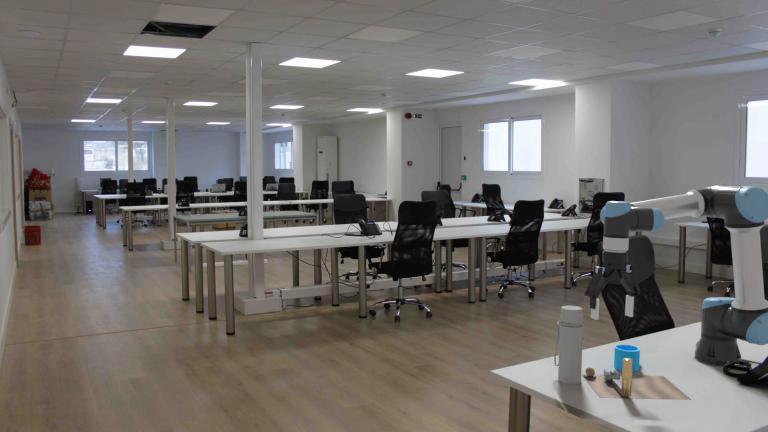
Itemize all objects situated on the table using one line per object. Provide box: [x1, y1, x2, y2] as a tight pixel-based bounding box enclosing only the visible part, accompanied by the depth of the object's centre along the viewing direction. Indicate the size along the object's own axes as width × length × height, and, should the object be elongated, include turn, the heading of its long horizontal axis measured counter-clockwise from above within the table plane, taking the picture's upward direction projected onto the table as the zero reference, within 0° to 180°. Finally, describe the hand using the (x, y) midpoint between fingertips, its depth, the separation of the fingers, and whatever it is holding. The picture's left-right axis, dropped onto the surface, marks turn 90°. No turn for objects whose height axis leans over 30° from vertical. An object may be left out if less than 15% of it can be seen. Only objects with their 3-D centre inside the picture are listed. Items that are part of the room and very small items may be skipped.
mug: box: [613, 344, 641, 373], centre depth 221 cm, size 12×8×8 cm
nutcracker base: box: [581, 366, 691, 401], centre depth 202 cm, size 27×21×4 cm
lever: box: [603, 358, 633, 397], centre depth 200 cm, size 20×4×11 cm, turn 178°
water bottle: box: [553, 305, 584, 385], centre depth 207 cm, size 9×8×25 cm
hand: (611, 317), depth 202 cm, fingers open, 13 cm apart
